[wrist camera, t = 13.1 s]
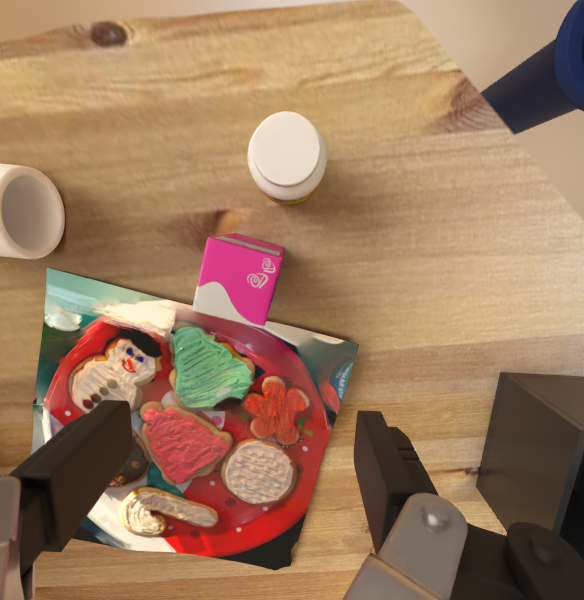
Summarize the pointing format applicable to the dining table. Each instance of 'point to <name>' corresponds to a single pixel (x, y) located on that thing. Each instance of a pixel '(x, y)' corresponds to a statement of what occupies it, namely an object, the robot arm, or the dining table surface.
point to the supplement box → (238, 278)
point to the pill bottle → (287, 158)
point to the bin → (537, 454)
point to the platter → (192, 418)
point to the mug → (29, 213)
